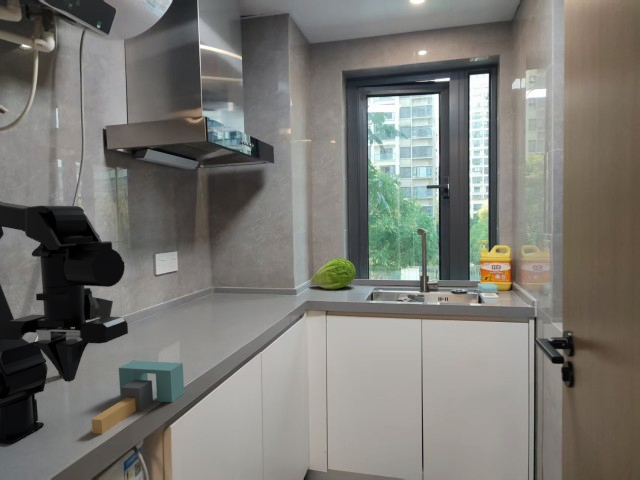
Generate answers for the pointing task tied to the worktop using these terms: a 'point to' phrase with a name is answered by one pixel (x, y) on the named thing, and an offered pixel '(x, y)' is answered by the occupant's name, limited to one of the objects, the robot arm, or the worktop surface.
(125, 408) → the plug
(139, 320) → the worktop surface
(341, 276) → the lettuce
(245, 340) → the worktop surface
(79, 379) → the worktop surface
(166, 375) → the housing
